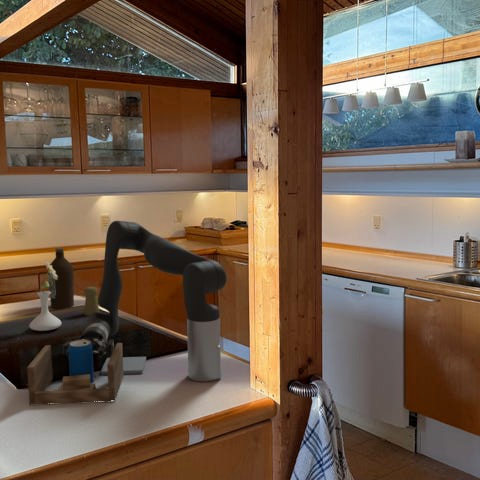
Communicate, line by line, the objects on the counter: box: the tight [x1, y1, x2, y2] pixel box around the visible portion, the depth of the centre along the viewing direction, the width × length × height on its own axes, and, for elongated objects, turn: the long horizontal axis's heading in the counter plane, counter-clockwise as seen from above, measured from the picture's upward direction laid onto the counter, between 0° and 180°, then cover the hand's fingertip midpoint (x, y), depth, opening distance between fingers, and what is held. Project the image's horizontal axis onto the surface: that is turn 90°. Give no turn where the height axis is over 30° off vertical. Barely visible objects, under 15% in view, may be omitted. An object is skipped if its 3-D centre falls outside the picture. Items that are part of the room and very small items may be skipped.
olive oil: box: [47, 247, 75, 310], centre depth 253 cm, size 11×11×25 cm
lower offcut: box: [57, 382, 97, 391], centre depth 158 cm, size 9×4×2 cm, turn 95°
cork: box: [83, 286, 100, 317], centre depth 241 cm, size 6×6×11 cm
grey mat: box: [100, 356, 147, 376], centre depth 178 cm, size 12×12×1 cm
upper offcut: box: [62, 374, 91, 390], centre depth 158 cm, size 7×4×2 cm, turn 105°
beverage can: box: [68, 339, 95, 383], centre depth 164 cm, size 6×6×12 cm
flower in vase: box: [29, 261, 63, 332], centre depth 219 cm, size 13×11×25 cm
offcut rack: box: [26, 342, 125, 406], centre depth 160 cm, size 22×18×10 cm
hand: (84, 354), depth 169 cm, fingers open, 8 cm apart
